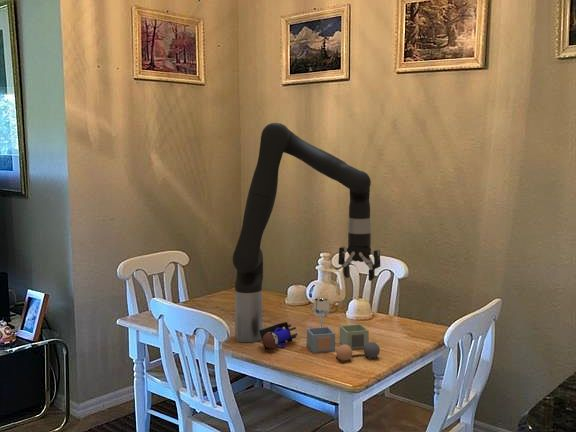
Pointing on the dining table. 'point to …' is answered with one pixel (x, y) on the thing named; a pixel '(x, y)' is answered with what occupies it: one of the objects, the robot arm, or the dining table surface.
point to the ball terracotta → (344, 352)
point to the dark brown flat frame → (357, 356)
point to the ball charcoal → (371, 350)
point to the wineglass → (321, 308)
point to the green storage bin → (354, 336)
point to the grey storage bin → (320, 340)
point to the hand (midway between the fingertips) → (359, 278)
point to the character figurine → (277, 335)
